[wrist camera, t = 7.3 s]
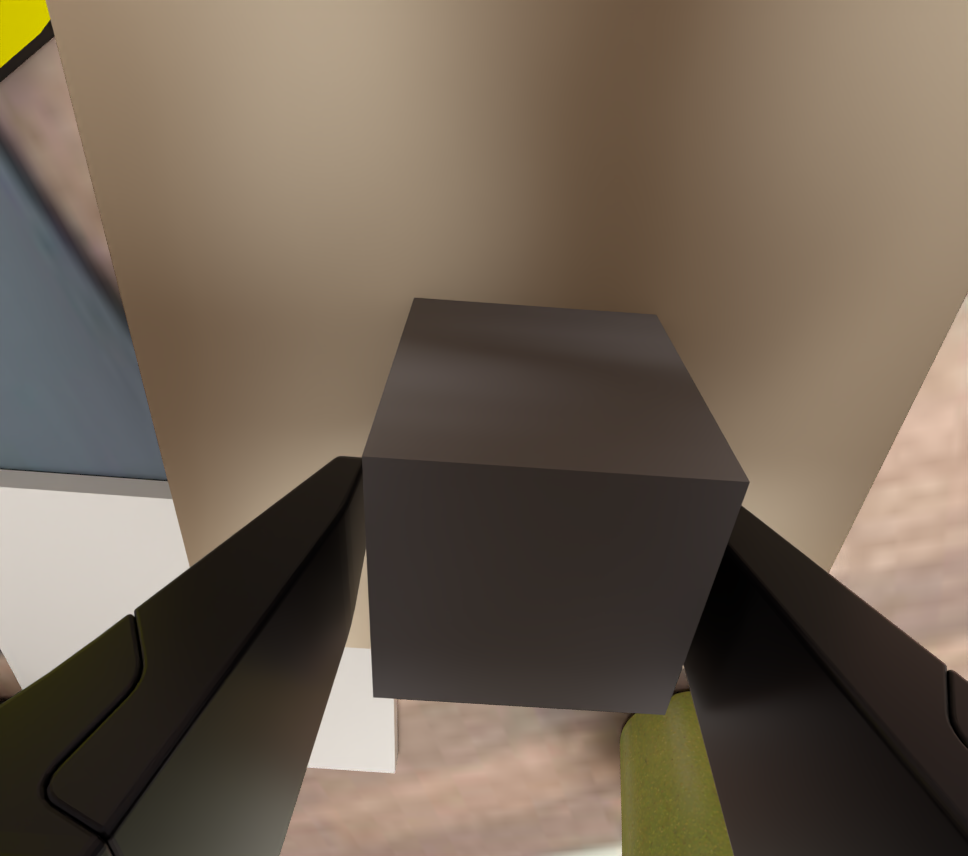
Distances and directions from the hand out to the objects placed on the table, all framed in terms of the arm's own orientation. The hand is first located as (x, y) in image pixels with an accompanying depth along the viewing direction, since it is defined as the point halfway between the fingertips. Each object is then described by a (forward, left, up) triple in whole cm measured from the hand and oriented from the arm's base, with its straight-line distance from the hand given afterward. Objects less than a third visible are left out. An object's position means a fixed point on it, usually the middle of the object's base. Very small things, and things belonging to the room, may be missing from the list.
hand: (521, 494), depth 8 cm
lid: (0, 0, -3) cm, 3 cm away
